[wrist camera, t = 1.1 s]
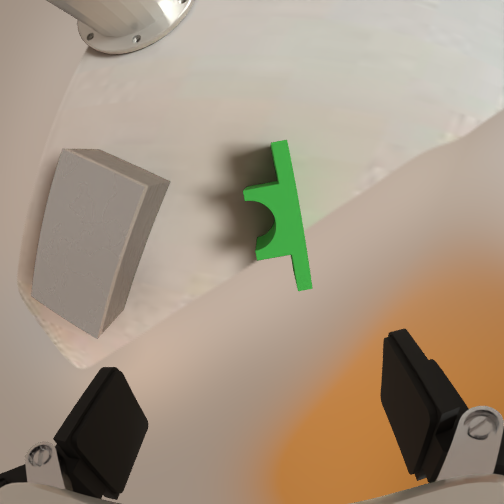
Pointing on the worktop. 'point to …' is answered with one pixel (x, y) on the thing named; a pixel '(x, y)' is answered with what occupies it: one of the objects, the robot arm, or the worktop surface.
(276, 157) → the pipe clamp
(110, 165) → the gray rectangular block
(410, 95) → the worktop surface
